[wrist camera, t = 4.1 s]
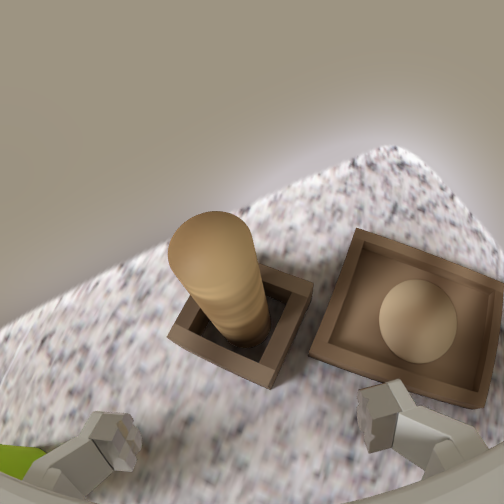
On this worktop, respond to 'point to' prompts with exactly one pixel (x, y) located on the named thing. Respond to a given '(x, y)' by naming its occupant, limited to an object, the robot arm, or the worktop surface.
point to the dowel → (222, 275)
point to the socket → (266, 371)
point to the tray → (412, 321)
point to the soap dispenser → (18, 459)
